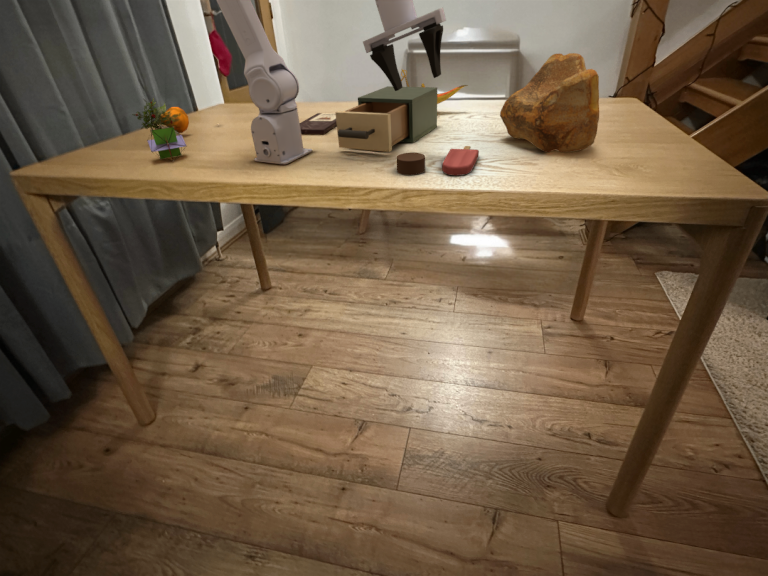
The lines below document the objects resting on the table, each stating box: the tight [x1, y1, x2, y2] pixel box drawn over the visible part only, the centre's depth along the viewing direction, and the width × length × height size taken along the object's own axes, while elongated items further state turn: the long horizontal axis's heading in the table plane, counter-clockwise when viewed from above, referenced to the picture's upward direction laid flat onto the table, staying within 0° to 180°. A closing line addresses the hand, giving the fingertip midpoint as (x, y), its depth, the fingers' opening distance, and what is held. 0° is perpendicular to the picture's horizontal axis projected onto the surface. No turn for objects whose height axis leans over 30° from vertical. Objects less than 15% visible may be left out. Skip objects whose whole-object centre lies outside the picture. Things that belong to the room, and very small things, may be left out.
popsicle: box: [441, 145, 480, 176], centre depth 78 cm, size 5×2×15 cm
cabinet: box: [357, 85, 438, 144], centre depth 96 cm, size 15×13×9 cm
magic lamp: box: [400, 69, 469, 105], centre depth 111 cm, size 7×18×11 cm, turn 82°
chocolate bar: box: [299, 112, 337, 135], centre depth 109 cm, size 9×1×18 cm
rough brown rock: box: [499, 52, 600, 153], centre depth 83 cm, size 23×17×15 cm
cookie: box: [395, 152, 426, 176], centre depth 75 cm, size 5×5×2 cm
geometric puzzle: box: [146, 125, 187, 162], centre depth 88 cm, size 7×7×8 cm
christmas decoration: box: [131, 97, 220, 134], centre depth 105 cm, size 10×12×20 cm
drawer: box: [334, 102, 409, 153], centre depth 87 cm, size 18×11×7 cm, turn 154°
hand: (417, 83), depth 75 cm, fingers open, 7 cm apart
